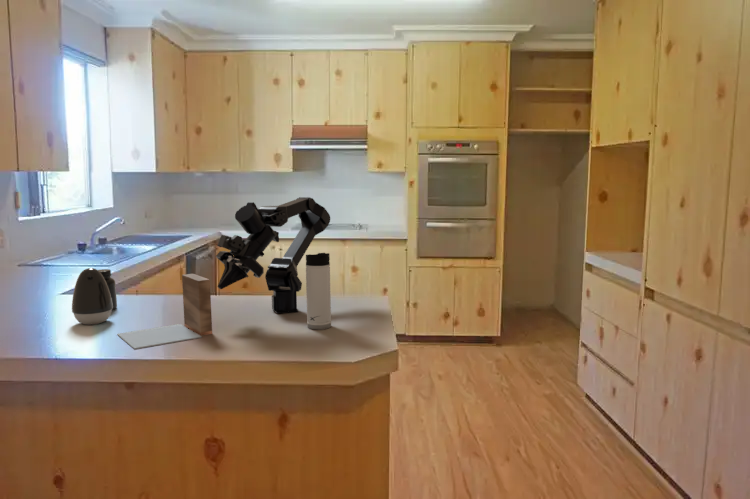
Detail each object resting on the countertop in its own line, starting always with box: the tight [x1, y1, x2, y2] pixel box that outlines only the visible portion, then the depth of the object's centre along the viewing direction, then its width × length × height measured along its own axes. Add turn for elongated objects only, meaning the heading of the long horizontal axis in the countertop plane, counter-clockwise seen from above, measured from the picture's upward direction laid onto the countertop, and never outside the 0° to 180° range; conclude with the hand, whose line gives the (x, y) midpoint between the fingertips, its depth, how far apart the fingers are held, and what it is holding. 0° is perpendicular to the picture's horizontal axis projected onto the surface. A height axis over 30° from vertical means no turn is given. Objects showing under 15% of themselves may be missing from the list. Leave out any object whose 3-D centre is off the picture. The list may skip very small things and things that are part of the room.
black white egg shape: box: [71, 267, 113, 326], centre depth 161 cm, size 10×10×15 cm
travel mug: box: [305, 252, 332, 331], centre depth 154 cm, size 6×7×20 cm
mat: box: [116, 323, 203, 350], centre depth 147 cm, size 16×16×1 cm
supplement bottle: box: [97, 268, 118, 311], centre depth 178 cm, size 7×7×12 cm
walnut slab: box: [181, 273, 213, 337], centre depth 152 cm, size 3×12×14 cm, turn 37°
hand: (219, 288), depth 155 cm, fingers closed
